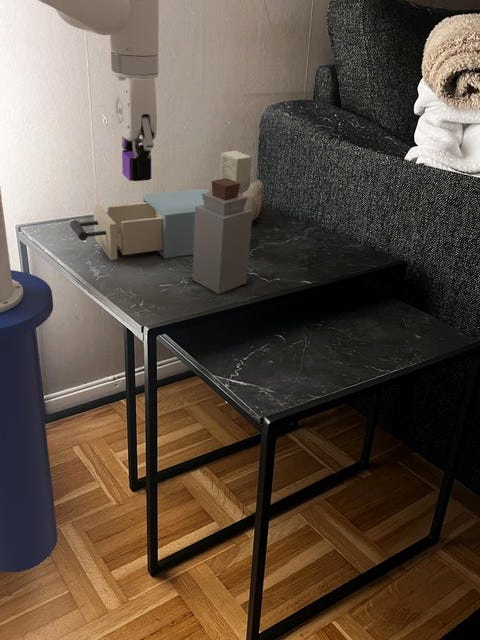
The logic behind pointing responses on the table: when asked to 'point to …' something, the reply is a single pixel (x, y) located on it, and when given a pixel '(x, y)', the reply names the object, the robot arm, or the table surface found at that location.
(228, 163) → the cosmetic box
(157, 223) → the beige drawer
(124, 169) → the purple rounded cube
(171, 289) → the table surface
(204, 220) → the perfume bottle
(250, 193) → the decorative bird
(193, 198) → the drawer cabinet
